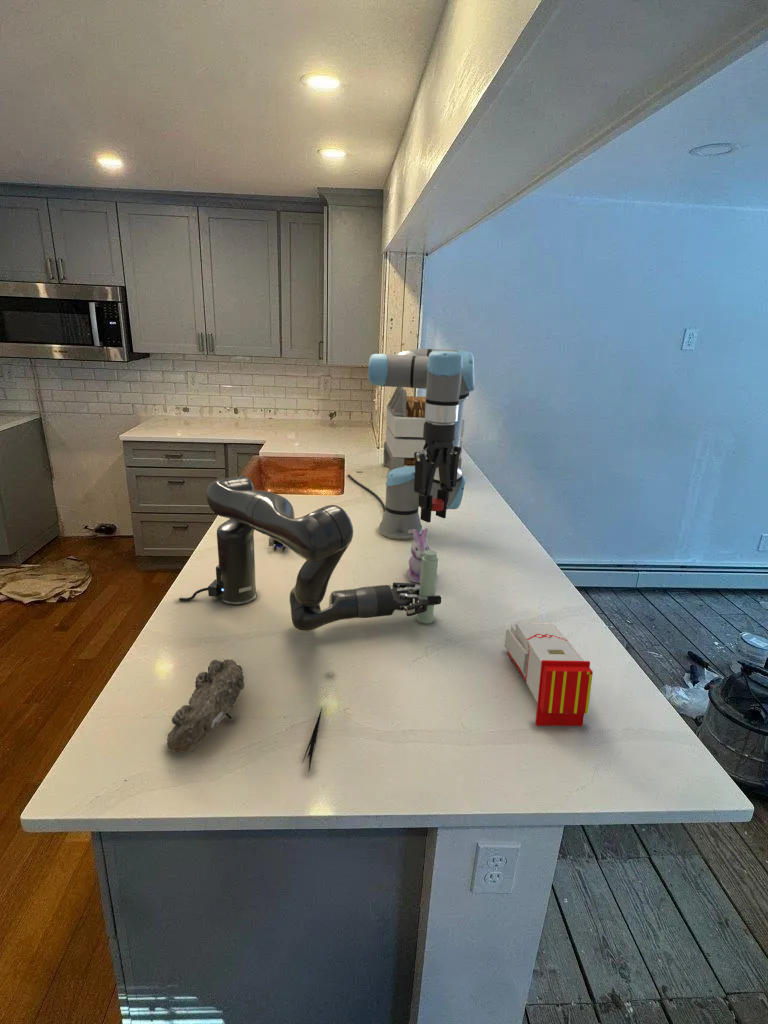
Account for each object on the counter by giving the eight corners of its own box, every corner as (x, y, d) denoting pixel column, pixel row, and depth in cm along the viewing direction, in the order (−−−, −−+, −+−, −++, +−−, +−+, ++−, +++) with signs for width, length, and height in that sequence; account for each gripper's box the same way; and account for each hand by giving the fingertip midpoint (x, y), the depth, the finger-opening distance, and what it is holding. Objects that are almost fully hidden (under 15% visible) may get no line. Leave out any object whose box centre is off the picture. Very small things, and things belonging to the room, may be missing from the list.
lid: (430, 512, 132) (431, 504, 132) (420, 506, 136) (421, 499, 136) (447, 510, 134) (447, 502, 134) (436, 504, 138) (437, 496, 138)
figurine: (415, 586, 162) (419, 538, 157) (398, 572, 170) (401, 525, 165) (443, 581, 166) (447, 533, 161) (425, 567, 175) (428, 521, 170)
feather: (331, 679, 122) (336, 673, 122) (307, 777, 96) (313, 769, 95) (324, 675, 122) (329, 669, 121) (298, 772, 95) (304, 764, 95)
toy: (550, 607, 134) (601, 667, 105) (545, 659, 137) (594, 732, 108) (499, 606, 134) (537, 666, 104) (495, 659, 137) (530, 731, 107)
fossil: (192, 660, 117) (244, 628, 112) (224, 691, 120) (276, 661, 115) (142, 746, 98) (202, 712, 93) (182, 779, 101) (242, 748, 96)
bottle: (433, 616, 147) (438, 549, 141) (433, 624, 144) (438, 556, 137) (417, 614, 148) (422, 548, 141) (417, 622, 144) (422, 555, 137)
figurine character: (289, 557, 180) (295, 534, 194) (288, 536, 177) (294, 515, 190) (268, 557, 180) (275, 534, 193) (266, 536, 177) (274, 514, 190)
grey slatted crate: (382, 463, 289) (386, 382, 275) (445, 464, 293) (451, 384, 279) (390, 482, 257) (394, 392, 243) (460, 483, 261) (468, 394, 247)
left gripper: (380, 602, 132) (449, 595, 136) (365, 575, 145) (428, 569, 149) (379, 630, 134) (446, 622, 139) (364, 601, 147) (426, 595, 152)
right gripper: (454, 416, 136) (446, 507, 144) (400, 422, 125) (395, 521, 133) (478, 421, 131) (469, 515, 139) (424, 429, 120) (417, 531, 128)
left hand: (437, 595), depth 144 cm, fingers closed on bottle, 4 cm apart
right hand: (433, 518), depth 136 cm, fingers closed on lid, 4 cm apart
